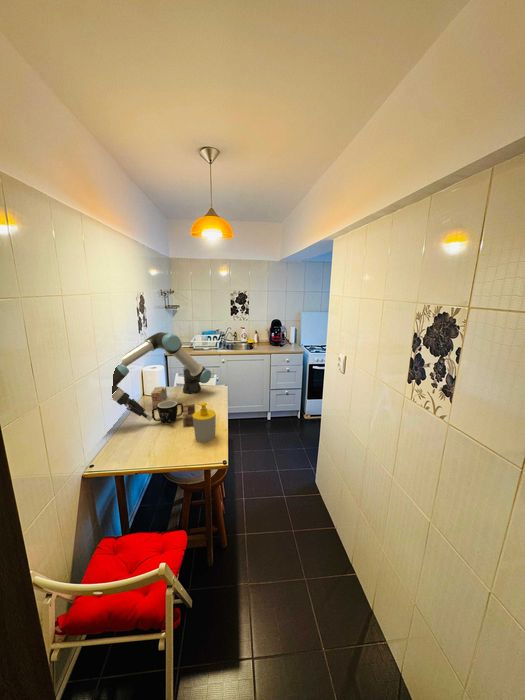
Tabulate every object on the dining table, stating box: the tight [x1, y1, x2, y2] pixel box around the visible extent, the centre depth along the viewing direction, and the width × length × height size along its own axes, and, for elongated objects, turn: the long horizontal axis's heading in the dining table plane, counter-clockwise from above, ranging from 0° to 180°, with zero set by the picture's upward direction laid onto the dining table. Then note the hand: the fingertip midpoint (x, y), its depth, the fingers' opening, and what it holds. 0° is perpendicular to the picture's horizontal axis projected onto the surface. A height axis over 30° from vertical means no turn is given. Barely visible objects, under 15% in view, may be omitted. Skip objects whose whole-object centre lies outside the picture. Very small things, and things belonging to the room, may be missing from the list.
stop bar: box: [182, 404, 196, 428], centre depth 183 cm, size 20×8×6 cm, turn 15°
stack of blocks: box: [150, 386, 168, 409], centre depth 210 cm, size 21×6×12 cm, turn 8°
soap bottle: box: [192, 402, 217, 444], centre depth 159 cm, size 13×13×21 cm
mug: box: [151, 400, 184, 425], centre depth 180 cm, size 16×16×12 cm
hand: (151, 418), depth 177 cm, fingers closed
